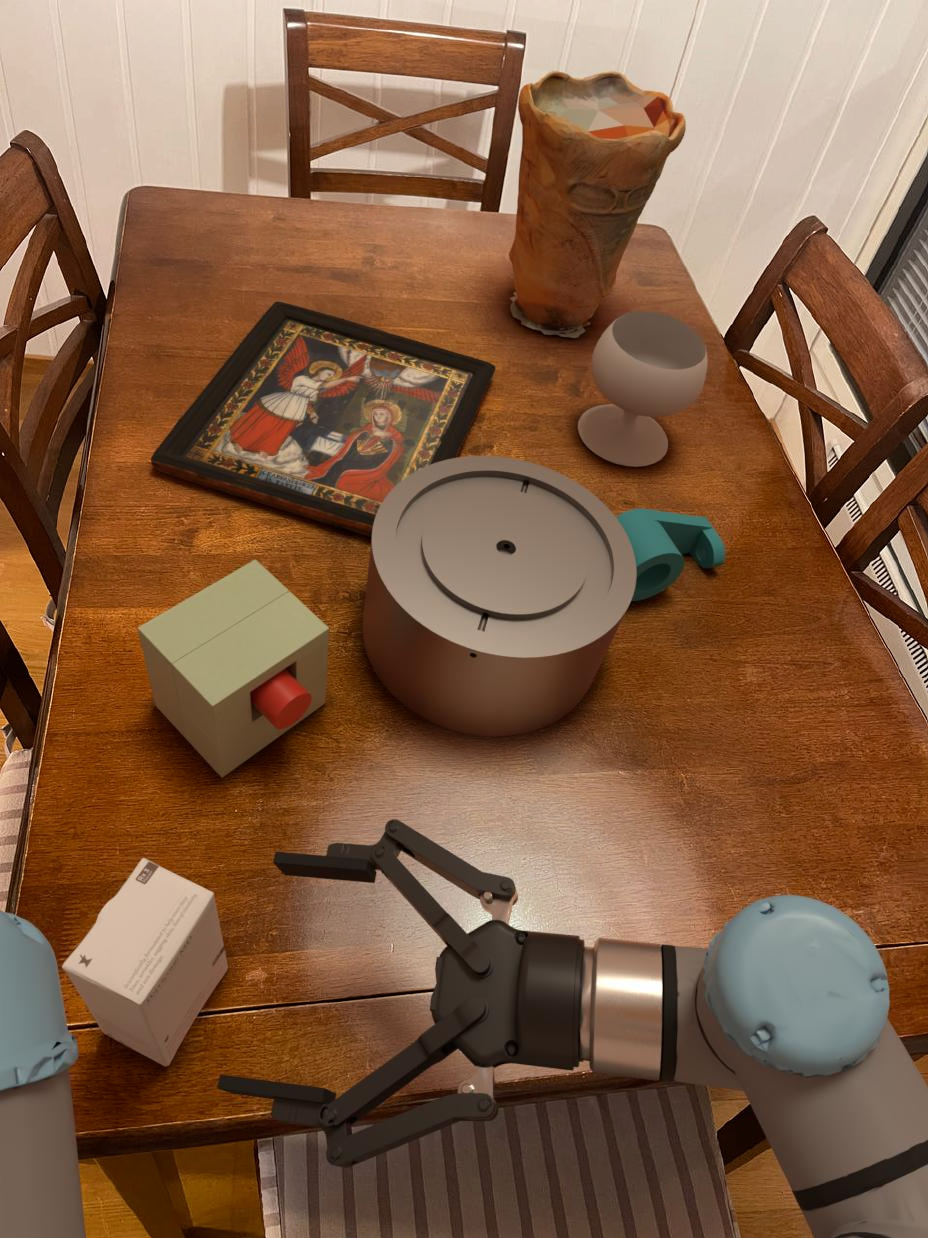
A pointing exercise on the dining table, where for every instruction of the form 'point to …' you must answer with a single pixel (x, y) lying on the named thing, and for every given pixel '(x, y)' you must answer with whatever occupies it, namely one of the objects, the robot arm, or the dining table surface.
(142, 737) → the dining table surface
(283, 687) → the button
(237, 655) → the box
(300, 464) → the framed painting
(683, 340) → the chalice
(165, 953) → the cosmetic box
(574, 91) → the vase
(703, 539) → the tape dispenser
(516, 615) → the container
